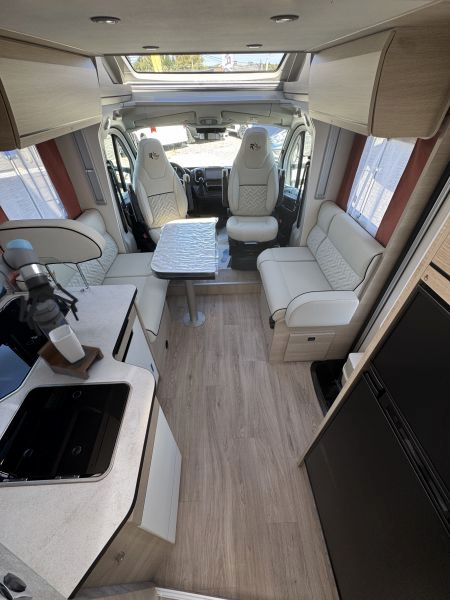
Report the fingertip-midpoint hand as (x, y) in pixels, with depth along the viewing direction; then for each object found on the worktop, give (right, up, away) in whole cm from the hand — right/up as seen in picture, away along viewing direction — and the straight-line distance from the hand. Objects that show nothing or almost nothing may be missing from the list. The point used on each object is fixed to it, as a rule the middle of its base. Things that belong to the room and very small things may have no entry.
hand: (59, 328), depth 99 cm
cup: (+3, -13, +7) cm, 15 cm away
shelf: (+2, -17, +11) cm, 20 cm away
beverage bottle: (-12, -7, +23) cm, 27 cm away
